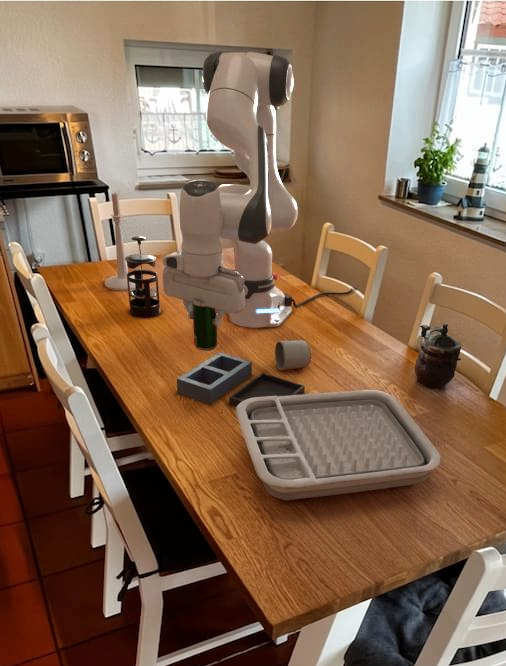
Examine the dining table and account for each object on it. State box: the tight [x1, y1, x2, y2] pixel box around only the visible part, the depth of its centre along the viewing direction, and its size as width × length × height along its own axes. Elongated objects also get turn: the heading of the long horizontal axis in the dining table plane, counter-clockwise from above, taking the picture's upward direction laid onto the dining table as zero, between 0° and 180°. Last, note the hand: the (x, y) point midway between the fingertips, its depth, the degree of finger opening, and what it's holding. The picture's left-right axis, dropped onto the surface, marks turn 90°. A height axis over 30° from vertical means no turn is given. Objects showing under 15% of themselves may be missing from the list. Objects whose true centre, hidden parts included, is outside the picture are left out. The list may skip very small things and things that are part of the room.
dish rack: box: [235, 389, 442, 501], centre depth 121 cm, size 32×37×8 cm
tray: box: [228, 372, 306, 408], centre depth 142 cm, size 15×12×2 cm
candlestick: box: [104, 192, 136, 292], centre depth 194 cm, size 13×13×30 cm
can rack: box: [176, 351, 253, 405], centre depth 146 cm, size 18×10×4 cm, turn 153°
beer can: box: [192, 298, 218, 352], centre depth 135 cm, size 5×5×12 cm
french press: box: [125, 235, 162, 319], centre depth 177 cm, size 12×9×23 cm
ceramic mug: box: [274, 339, 312, 371], centre depth 157 cm, size 11×8×8 cm
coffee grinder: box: [414, 322, 462, 389], centre depth 151 cm, size 13×15×18 cm
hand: (204, 321), depth 135 cm, fingers closed on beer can, 5 cm apart
